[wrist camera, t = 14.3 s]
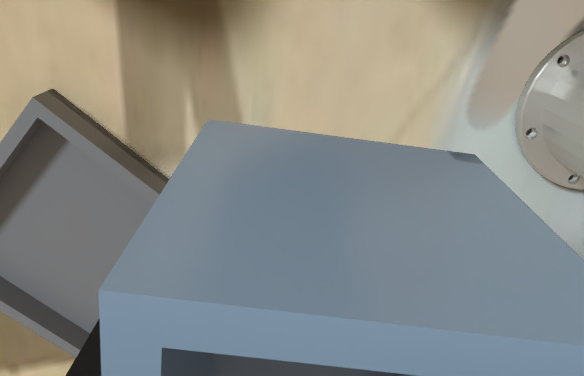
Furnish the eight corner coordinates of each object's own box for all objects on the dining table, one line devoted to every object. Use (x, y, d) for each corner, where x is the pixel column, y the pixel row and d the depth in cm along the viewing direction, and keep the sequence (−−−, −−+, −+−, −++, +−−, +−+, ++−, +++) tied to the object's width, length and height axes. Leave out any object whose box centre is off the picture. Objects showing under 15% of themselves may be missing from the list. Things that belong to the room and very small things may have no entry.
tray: (244, 238, 41) (240, 256, 38) (124, 357, 46) (113, 381, 44) (52, 88, 36) (32, 97, 33) (-58, 241, 41) (-83, 259, 39)
